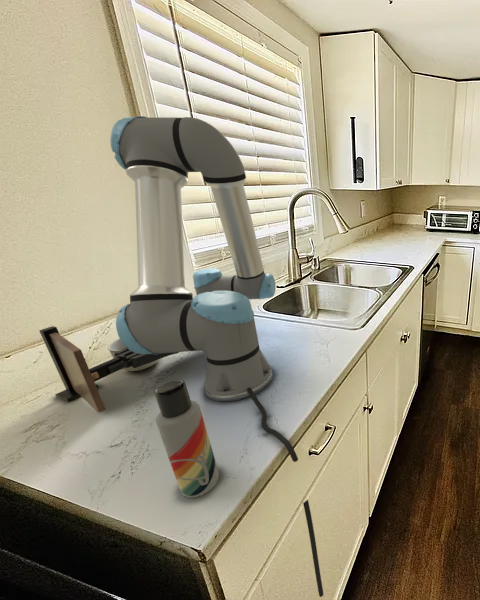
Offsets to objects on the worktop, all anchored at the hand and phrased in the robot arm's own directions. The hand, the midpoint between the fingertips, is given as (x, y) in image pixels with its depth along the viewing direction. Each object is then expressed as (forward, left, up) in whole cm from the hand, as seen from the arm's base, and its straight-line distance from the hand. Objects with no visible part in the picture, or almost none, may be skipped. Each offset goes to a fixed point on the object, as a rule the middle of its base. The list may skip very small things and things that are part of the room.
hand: (87, 377), depth 72 cm
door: (+1, +1, -6) cm, 6 cm away
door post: (+9, +3, -7) cm, 12 cm away
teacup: (+13, -12, -3) cm, 18 cm away
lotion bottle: (-41, -8, -7) cm, 42 cm away
